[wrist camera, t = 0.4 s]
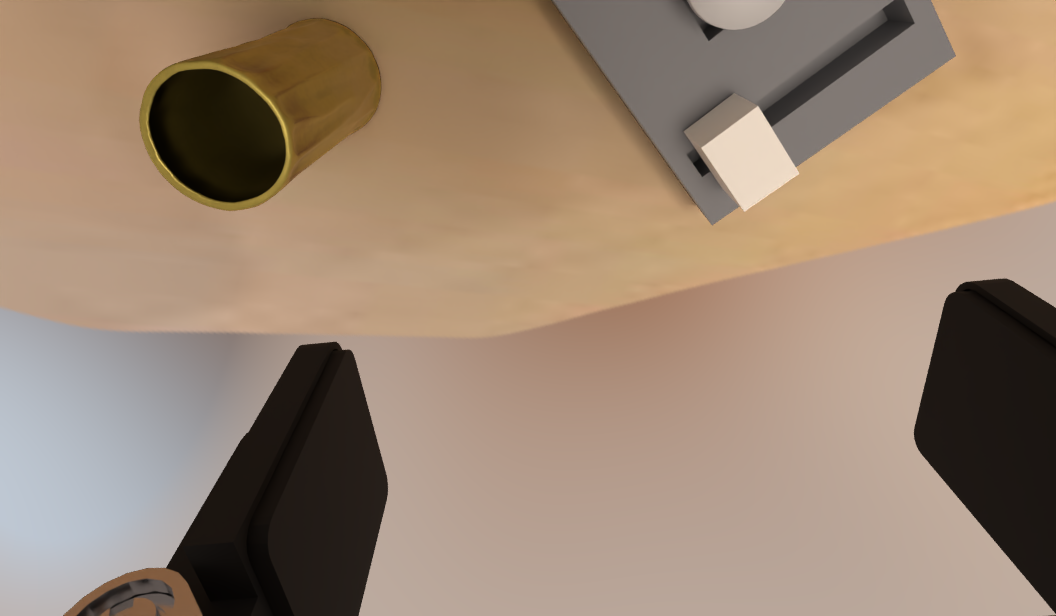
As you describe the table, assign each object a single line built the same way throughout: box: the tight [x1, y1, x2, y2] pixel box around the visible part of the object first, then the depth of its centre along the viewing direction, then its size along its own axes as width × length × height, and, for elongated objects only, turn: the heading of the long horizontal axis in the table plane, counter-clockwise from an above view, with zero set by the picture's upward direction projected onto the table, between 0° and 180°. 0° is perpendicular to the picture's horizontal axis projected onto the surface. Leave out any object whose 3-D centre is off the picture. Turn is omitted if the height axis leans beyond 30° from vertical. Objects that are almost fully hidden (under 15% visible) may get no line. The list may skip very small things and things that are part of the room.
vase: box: [139, 19, 381, 211], centre depth 28 cm, size 6×6×14 cm
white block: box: [684, 93, 799, 212], centre depth 32 cm, size 3×4×6 cm
